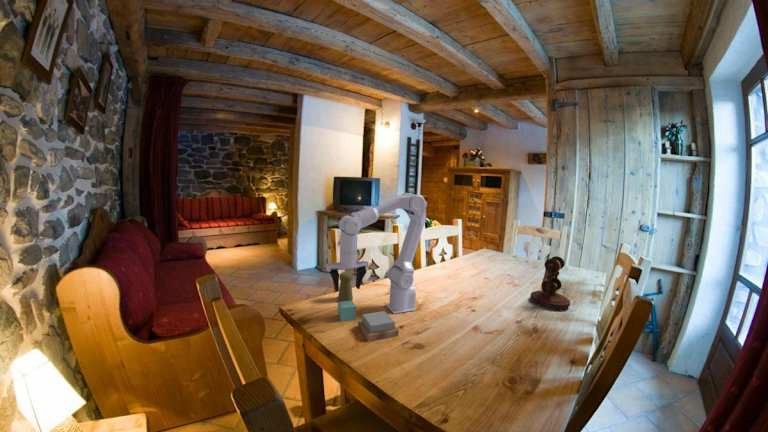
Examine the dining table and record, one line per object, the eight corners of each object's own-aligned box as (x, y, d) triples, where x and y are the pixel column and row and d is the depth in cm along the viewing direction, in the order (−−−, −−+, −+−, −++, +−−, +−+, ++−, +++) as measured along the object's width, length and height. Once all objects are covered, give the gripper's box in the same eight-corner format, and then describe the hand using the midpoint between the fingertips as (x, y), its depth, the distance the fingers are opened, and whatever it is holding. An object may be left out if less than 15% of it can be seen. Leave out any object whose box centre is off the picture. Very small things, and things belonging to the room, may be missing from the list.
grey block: (384, 318, 103) (384, 311, 103) (394, 329, 96) (394, 321, 95) (362, 321, 100) (362, 314, 99) (370, 333, 93) (371, 325, 92)
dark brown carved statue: (537, 293, 138) (542, 251, 135) (573, 304, 128) (580, 259, 125) (524, 302, 128) (530, 256, 125) (563, 314, 117) (570, 265, 115)
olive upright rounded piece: (350, 303, 118) (351, 276, 116) (335, 301, 119) (336, 274, 118) (354, 297, 124) (355, 271, 122) (340, 295, 125) (341, 269, 123)
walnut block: (385, 323, 105) (385, 316, 104) (398, 337, 96) (398, 330, 95) (358, 327, 101) (358, 320, 100) (368, 343, 92) (369, 335, 91)
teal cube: (351, 313, 109) (351, 300, 109) (355, 319, 105) (355, 306, 104) (337, 315, 107) (338, 302, 107) (341, 321, 103) (341, 308, 102)
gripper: (364, 247, 109) (362, 283, 111) (324, 249, 104) (323, 287, 105) (371, 252, 103) (369, 290, 105) (329, 254, 97) (328, 294, 99)
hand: (347, 289), depth 105 cm, fingers open, 7 cm apart
